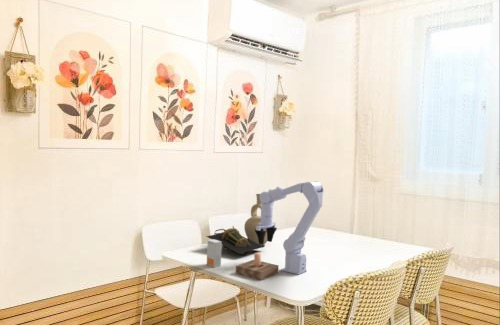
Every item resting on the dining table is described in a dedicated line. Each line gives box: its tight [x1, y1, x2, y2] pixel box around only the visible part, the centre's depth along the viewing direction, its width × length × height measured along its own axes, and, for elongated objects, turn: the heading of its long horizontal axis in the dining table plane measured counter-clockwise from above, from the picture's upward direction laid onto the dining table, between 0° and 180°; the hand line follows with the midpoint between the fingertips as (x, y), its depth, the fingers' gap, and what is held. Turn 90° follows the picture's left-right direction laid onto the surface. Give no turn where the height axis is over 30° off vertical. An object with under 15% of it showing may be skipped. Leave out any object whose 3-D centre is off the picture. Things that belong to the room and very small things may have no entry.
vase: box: [244, 193, 268, 246], centre depth 235 cm, size 17×17×30 cm
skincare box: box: [206, 239, 223, 268], centre depth 190 cm, size 6×4×12 cm
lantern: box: [206, 225, 265, 255], centre depth 220 cm, size 14×23×30 cm
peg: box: [253, 252, 262, 268], centre depth 181 cm, size 3×3×9 cm
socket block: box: [235, 259, 279, 281], centre depth 181 cm, size 14×14×4 cm
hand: (265, 242), depth 196 cm, fingers open, 7 cm apart
